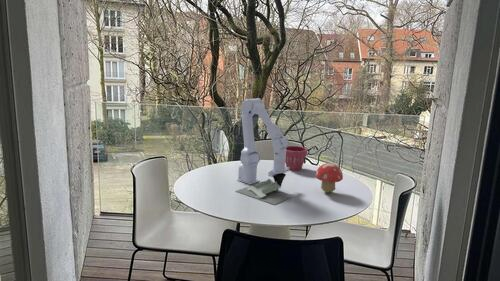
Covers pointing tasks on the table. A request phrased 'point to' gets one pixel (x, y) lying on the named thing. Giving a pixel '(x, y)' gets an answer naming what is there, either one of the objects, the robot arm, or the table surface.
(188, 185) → the table surface
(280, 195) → the rubber mat
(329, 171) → the decorative mushroom
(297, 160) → the plant pot
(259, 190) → the metal bracket
